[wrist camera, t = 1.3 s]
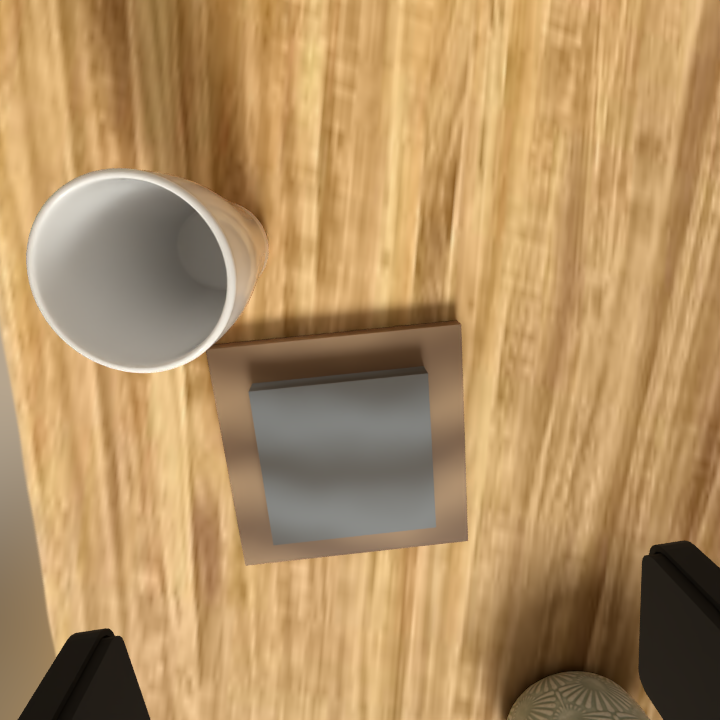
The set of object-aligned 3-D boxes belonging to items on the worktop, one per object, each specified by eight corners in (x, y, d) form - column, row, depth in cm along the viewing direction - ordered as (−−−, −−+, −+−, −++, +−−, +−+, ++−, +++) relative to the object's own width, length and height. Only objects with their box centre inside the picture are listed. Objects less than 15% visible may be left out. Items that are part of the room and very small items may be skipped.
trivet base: (210, 344, 32) (199, 356, 29) (456, 320, 32) (467, 329, 30) (248, 554, 37) (241, 580, 34) (463, 530, 37) (473, 554, 34)
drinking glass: (304, 249, 31) (281, 281, 16) (229, 323, 32) (144, 415, 17) (222, 162, 29) (116, 113, 15) (145, 244, 30) (-25, 272, 16)
